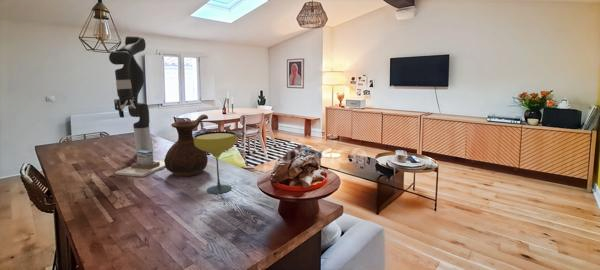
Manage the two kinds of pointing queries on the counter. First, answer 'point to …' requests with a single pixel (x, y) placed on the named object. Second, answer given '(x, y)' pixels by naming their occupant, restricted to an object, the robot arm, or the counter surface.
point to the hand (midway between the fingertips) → (128, 116)
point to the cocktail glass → (216, 151)
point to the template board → (141, 169)
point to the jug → (186, 151)
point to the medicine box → (145, 157)
